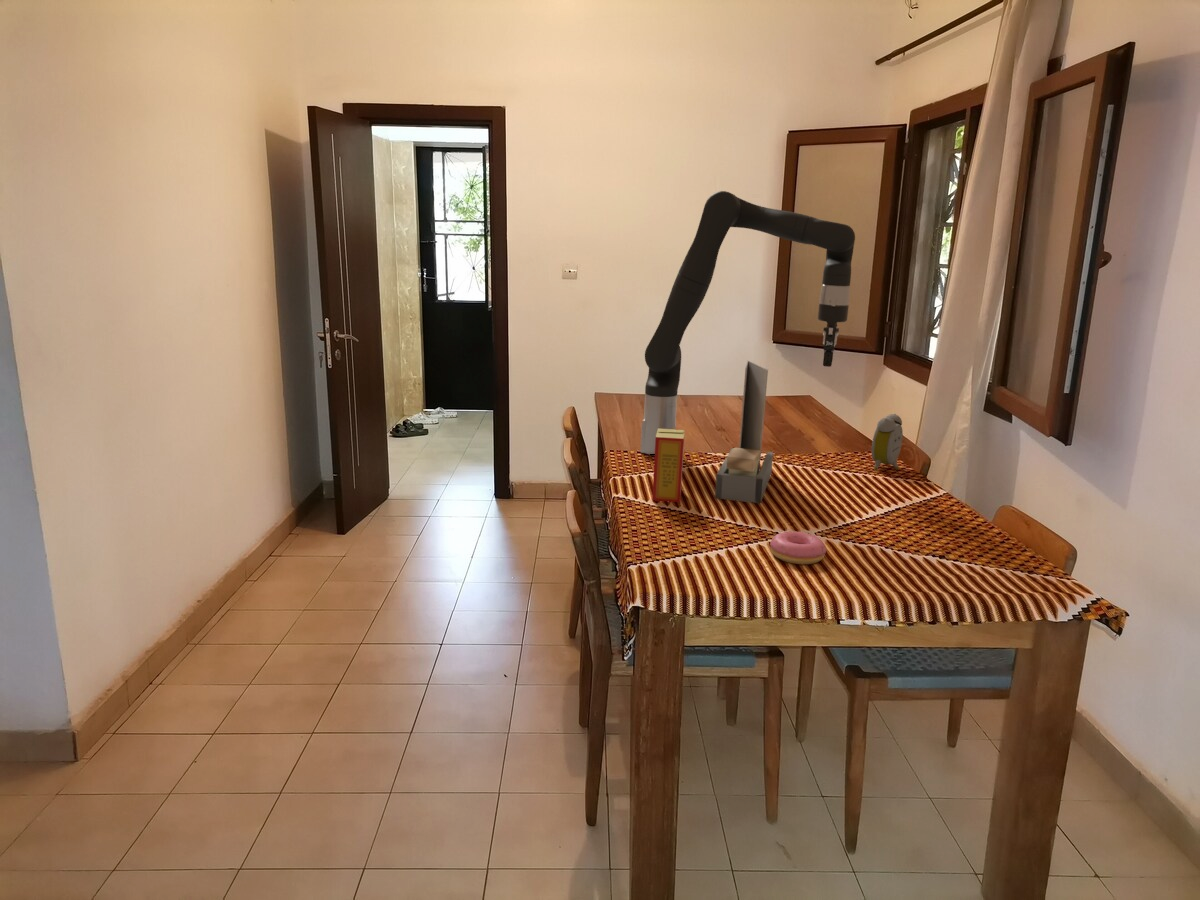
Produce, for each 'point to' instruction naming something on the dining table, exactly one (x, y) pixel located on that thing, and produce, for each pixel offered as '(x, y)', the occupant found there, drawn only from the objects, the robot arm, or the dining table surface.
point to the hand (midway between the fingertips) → (827, 364)
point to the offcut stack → (743, 462)
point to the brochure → (753, 407)
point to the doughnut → (798, 547)
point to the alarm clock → (887, 441)
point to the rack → (743, 483)
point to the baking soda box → (668, 465)
